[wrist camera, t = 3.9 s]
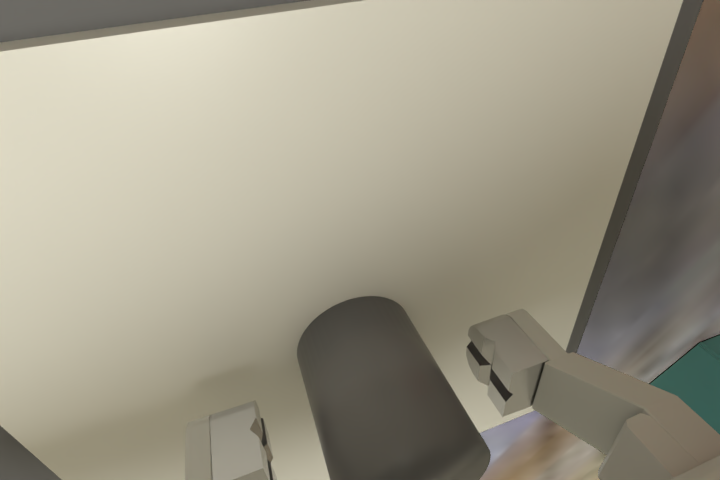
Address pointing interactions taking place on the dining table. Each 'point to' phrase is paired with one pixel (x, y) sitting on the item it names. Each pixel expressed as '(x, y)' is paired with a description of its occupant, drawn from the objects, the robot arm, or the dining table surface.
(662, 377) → the teal octagonal bowl
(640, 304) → the dining table surface
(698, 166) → the dining table surface
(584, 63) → the cover board
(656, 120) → the rubber mat
